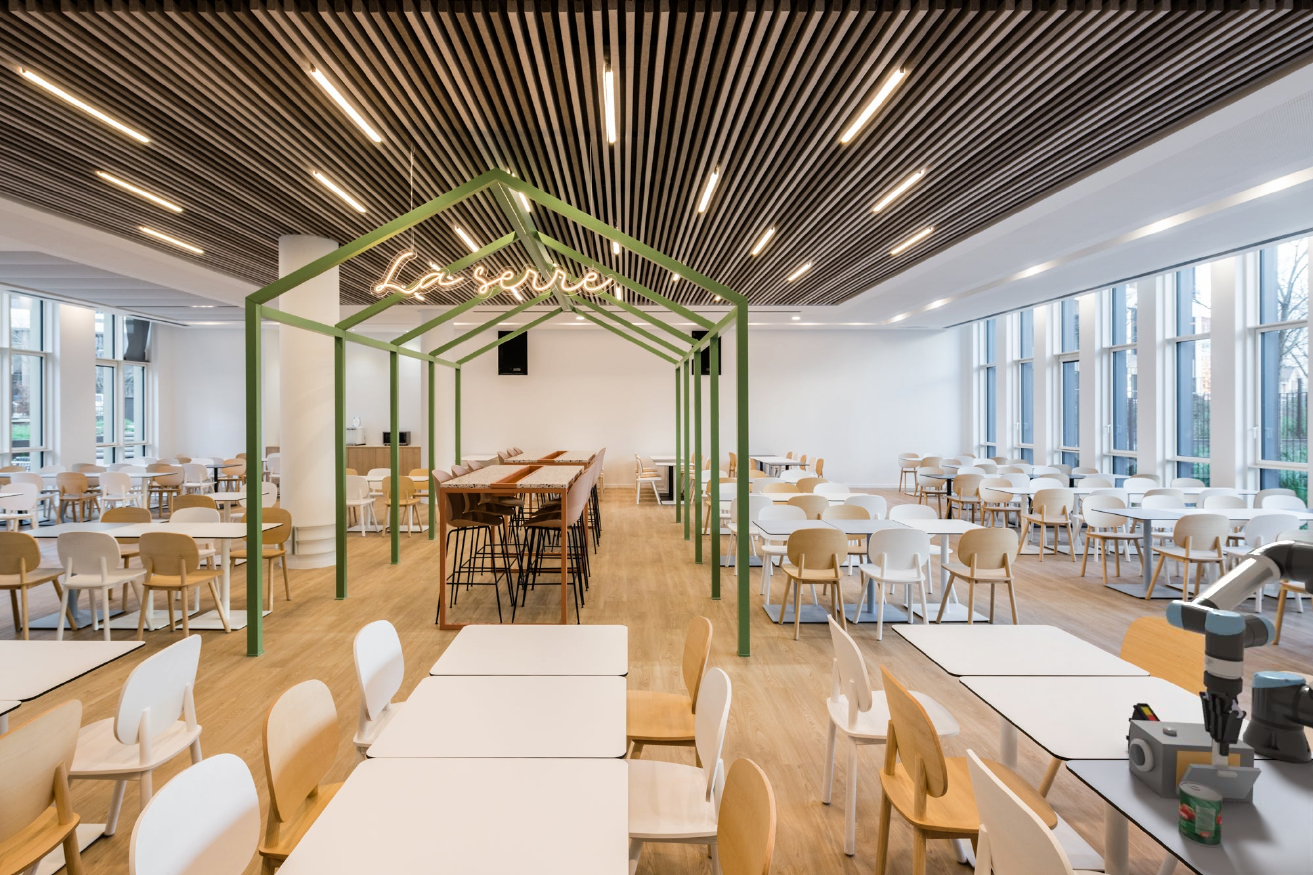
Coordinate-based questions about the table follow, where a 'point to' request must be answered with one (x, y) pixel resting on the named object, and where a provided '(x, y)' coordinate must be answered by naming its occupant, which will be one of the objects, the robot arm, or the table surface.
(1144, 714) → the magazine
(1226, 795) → the door
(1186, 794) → the canned tomato
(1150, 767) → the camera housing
